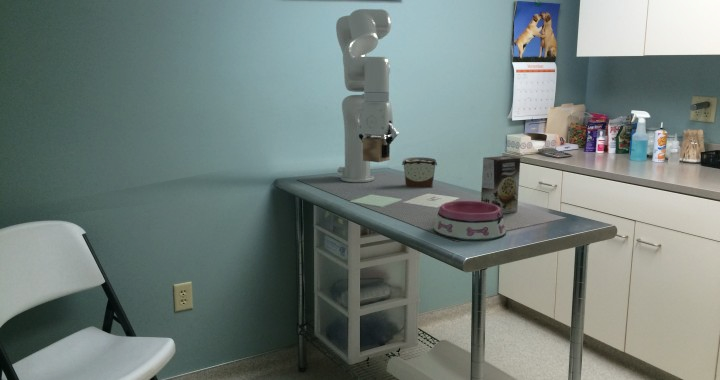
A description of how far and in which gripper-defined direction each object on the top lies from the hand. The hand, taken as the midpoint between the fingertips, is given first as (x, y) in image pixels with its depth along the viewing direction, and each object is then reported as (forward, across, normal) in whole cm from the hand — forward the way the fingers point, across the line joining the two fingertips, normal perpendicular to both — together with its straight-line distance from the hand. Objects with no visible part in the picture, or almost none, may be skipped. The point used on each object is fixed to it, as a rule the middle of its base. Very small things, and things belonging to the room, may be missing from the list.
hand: (376, 155), depth 183 cm
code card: (+15, +14, +11) cm, 23 cm away
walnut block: (+1, 0, 0) cm, 1 cm away
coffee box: (+15, +37, +10) cm, 41 cm away
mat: (+15, 0, 0) cm, 15 cm away
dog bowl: (+15, +39, -14) cm, 44 cm away
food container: (+15, -1, +29) cm, 33 cm away
